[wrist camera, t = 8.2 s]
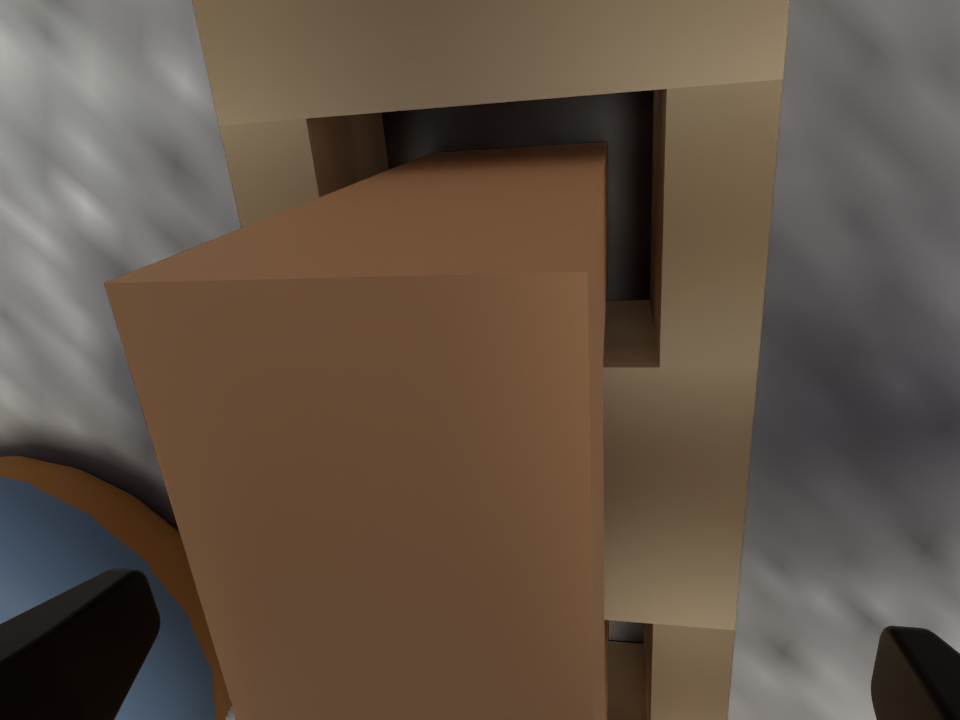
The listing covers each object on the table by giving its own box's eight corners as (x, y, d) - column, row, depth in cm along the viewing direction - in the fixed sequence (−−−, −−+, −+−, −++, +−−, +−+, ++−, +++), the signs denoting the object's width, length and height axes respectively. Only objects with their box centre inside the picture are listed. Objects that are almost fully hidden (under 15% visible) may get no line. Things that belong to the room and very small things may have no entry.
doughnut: (-105, 368, 15) (-348, 497, 12) (295, 510, 16) (189, 687, 12) (-52, 621, 21) (-208, 771, 17) (249, 728, 21) (164, 902, 17)
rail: (695, 752, 16) (711, 894, 13) (413, 719, 17) (374, 841, 14) (755, -185, 9) (816, -301, 6) (277, -108, 10) (153, -175, 8)
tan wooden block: (431, 152, 11) (104, 282, 4) (607, 142, 11) (588, 272, 4) (476, 605, 15) (347, 1086, 8) (608, 615, 15) (600, 1147, 7)
